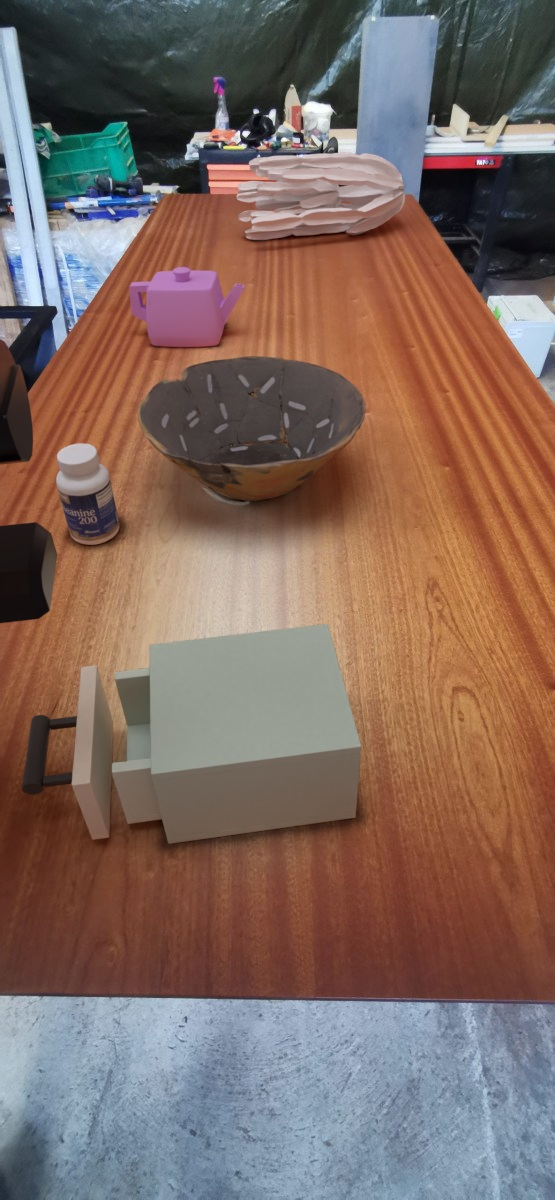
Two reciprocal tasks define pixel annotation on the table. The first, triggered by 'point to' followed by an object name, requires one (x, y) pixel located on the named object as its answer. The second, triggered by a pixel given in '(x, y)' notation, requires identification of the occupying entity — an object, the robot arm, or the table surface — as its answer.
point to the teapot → (183, 307)
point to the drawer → (101, 752)
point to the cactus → (320, 194)
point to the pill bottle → (86, 495)
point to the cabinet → (251, 733)
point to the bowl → (252, 422)
